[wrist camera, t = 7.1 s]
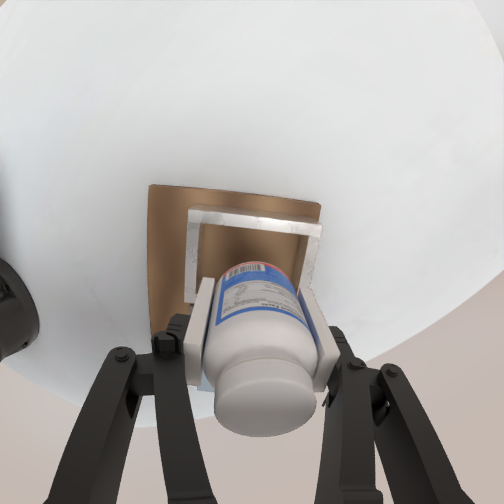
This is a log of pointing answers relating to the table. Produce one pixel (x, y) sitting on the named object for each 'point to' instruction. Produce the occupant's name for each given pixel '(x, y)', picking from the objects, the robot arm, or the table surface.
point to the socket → (253, 220)
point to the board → (209, 242)
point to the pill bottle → (259, 353)
